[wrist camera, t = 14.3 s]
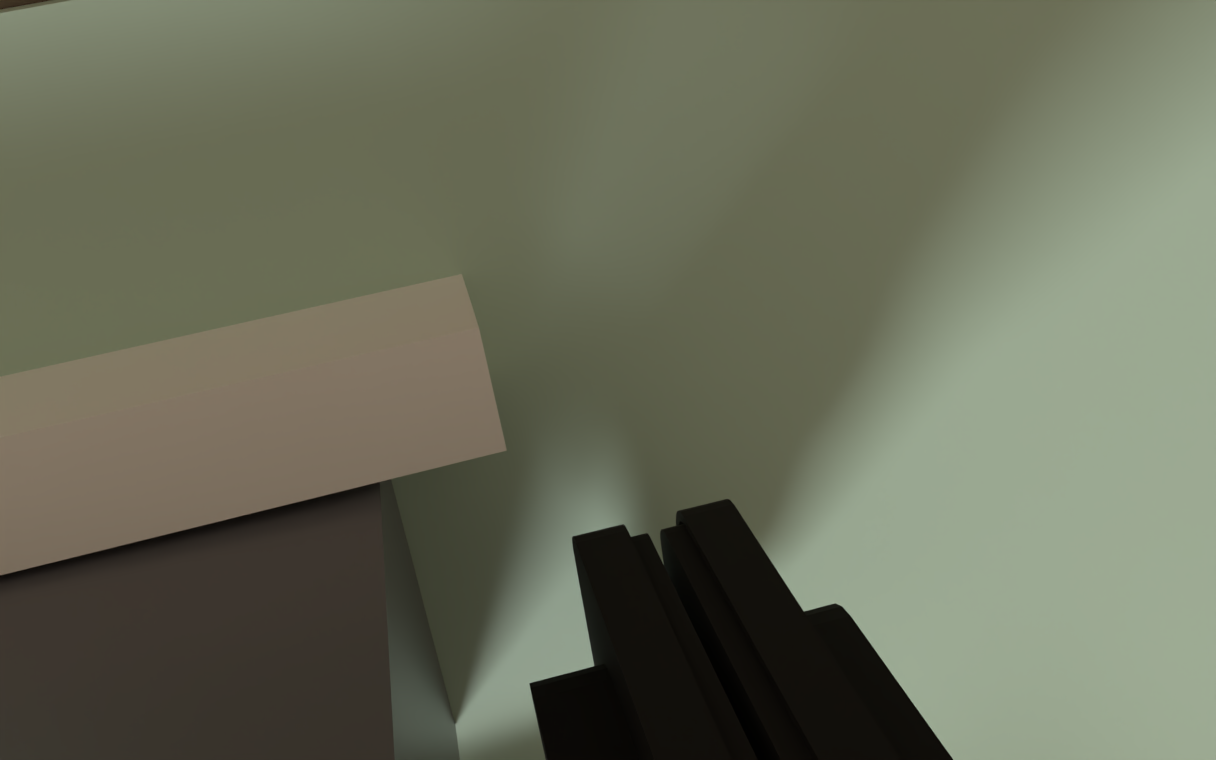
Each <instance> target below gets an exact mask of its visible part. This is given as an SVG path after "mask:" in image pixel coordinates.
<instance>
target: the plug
mask: <svg viewBox="0 0 1216 760" xmlns="http://www.w3.org/2000/svg"><path fill="white" fill-rule="evenodd" d="M0 760H460V756H459V749H458V741H457V733H456V726H455V722H454V718H453V715H452V711H451V707H450V703H449V699H448V695H447V692H446V688H445V684H444V680H443V676H442V672H441V669H440V665H439V661H438V657H437V653H436V650H435V646H434V642H433V638H432V634H431V630H430V627H429V623H428V619H427V615H426V611H425V607H424V604H423V600H422V596H421V592H420V588H419V585H418V581H417V577H416V573H415V569H414V565H413V562H412V558H411V554H410V550H409V546H408V542H407V539H406V535H405V531H404V527H403V523H402V520H401V516H400V512H399V508H398V504H397V500H396V497H395V493H394V489H393V485H392V481H391V479H389V480H385V481H381V482H377V483H373V484H369V485H365V486H361V487H357V488H353V489H349V490H345V491H340V492H336V493H332V494H328V495H324V496H320V497H316V498H312V499H308V500H304V501H300V502H296V503H292V504H288V505H284V506H280V507H276V508H271V509H267V510H263V511H259V512H255V513H251V514H247V515H243V516H239V517H235V518H231V519H227V520H223V521H219V522H215V523H211V524H207V525H203V526H198V527H194V528H190V529H186V530H182V531H178V532H174V533H170V534H166V535H162V536H158V537H154V538H150V539H146V540H142V541H138V542H134V543H130V544H125V545H121V546H117V547H113V548H109V549H105V550H101V551H97V552H93V553H89V554H85V555H81V556H77V557H73V558H69V559H65V560H61V561H56V562H52V563H48V564H44V565H40V566H36V567H32V568H28V569H24V570H20V571H16V572H12V573H8V574H4V575H0Z"/></svg>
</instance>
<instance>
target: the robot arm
mask: <svg viewBox="0 0 1216 760" xmlns="http://www.w3.org/2000/svg"><path fill="white" fill-rule="evenodd" d="M660 540H661V548H662V555H663V563H664V565H663V563H662V560H661V558H660V556H659V554H658V552H657V550H656V548H655V546H654V544H653V542H652V540H651V538H650V536H649V534H647V533H645V534H641V535H637V536H632V537H631V536H630V534H629V532H628V530H627V528H626V526H625V525H624V524H622V525H618V526H613V527H609V528H605V529H601V530H597V531H593V532H589V533H585V534H580V535H576V536H572V545H573V551H574V557H575V563H576V568H577V574H578V579H579V585H580V590H581V596H582V601H583V607H584V612H585V618H586V623H587V629H588V634H589V640H590V645H591V651H592V656H593V662H594V666H593V667H590V668H586V669H582V670H578V671H574V672H570V673H567V674H563V675H559V676H555V677H551V678H547V679H544V680H540V681H536V682H532V683H529V684H530V689H531V694H532V699H533V704H534V708H535V713H536V718H537V722H538V727H539V731H540V736H541V741H542V745H543V750H544V754H545V759H546V760H953V759H952V757H951V756H950V754H949V753H948V752H947V750H946V749H945V747H944V746H943V745H942V743H941V742H940V740H939V739H938V738H937V736H936V735H935V733H934V732H933V731H932V729H931V728H930V726H929V725H928V724H927V722H926V721H925V719H924V718H923V717H922V715H921V714H920V712H919V711H918V710H917V708H916V707H915V705H914V704H913V703H912V701H911V700H910V698H909V697H908V696H907V694H906V693H905V691H904V690H903V689H902V687H901V686H900V684H899V683H898V682H897V680H896V679H895V677H894V676H893V675H892V673H891V672H890V670H889V669H888V667H887V666H886V665H885V663H884V662H883V660H882V659H881V658H880V656H879V655H878V653H877V652H876V651H875V649H874V648H873V646H872V645H871V644H870V642H869V641H868V639H867V638H866V637H865V635H864V634H863V632H862V631H861V630H860V628H859V627H858V625H857V624H856V623H855V621H854V620H853V618H852V617H851V616H850V615H849V613H848V612H847V611H846V610H845V609H844V608H843V607H842V606H840V605H838V604H836V603H834V604H831V605H827V606H823V607H819V608H815V609H811V610H808V611H803V609H802V608H801V606H800V605H799V603H798V602H797V600H796V599H795V597H794V596H793V594H792V593H791V591H790V589H789V588H788V586H787V585H786V583H785V582H784V580H783V579H782V577H781V576H780V574H779V573H778V571H777V570H776V568H775V566H774V565H773V563H772V562H771V560H770V559H769V557H768V556H767V554H766V553H765V551H764V550H763V548H762V547H761V545H760V543H759V542H758V540H757V539H756V537H755V536H754V534H753V533H752V531H751V530H750V528H749V527H748V525H747V523H746V522H745V520H744V519H743V517H742V516H741V514H740V513H739V511H738V510H737V508H736V507H735V505H734V504H733V503H732V501H731V500H729V499H724V500H720V501H716V502H712V503H708V504H704V505H700V506H696V507H691V508H687V509H683V510H679V511H677V513H676V526H673V527H669V528H665V529H661V531H660Z"/></svg>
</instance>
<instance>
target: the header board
mask: <svg viewBox="0 0 1216 760" xmlns="http://www.w3.org/2000/svg"><path fill="white" fill-rule="evenodd" d="M389 479H391V481H392V485H393V489H394V493H395V497H396V500H397V504H398V508H399V512H400V516H401V520H402V523H403V527H404V531H405V535H406V539H407V542H408V546H409V550H410V554H411V558H412V562H413V565H414V569H415V573H416V577H417V581H418V585H419V588H420V592H421V596H422V600H423V604H424V607H425V611H426V615H427V619H428V623H429V627H430V630H431V634H432V638H433V642H434V646H435V650H436V653H437V657H438V661H439V665H440V669H441V672H442V676H443V680H444V684H445V688H446V692H447V695H448V699H449V703H450V707H451V711H452V715H453V718H454V722H455V726H456V733H457V741H458V749H459V756H460V760H546V759H545V754H544V750H543V745H542V741H541V736H540V731H539V727H538V722H537V718H536V713H535V708H534V704H533V699H532V694H531V689H530V684H529V683H532V682H536V681H540V680H544V679H547V678H551V677H555V676H559V675H563V674H567V673H570V672H574V671H578V670H582V669H586V668H590V667H593V666H594V662H593V656H592V651H591V645H590V640H589V634H588V629H587V623H586V618H585V612H584V607H583V601H582V596H581V590H580V585H579V579H578V574H577V568H576V563H575V557H574V551H573V545H572V536H576V535H580V534H585V533H589V532H593V531H597V530H601V529H605V528H609V527H613V526H618V525H622V524H624V525H625V526H626V528H627V530H628V532H629V534H630V536H631V537H632V536H637V535H641V534H645V533H647V534H649V536H650V538H651V540H652V542H653V544H654V546H655V548H656V550H657V552H658V554H659V556H660V558H661V560H662V563H663V555H662V548H661V540H660V531H661V529H665V528H669V527H673V526H676V513H677V511H679V510H683V509H687V508H691V507H696V506H700V505H704V504H708V503H712V502H716V501H720V500H724V499H729V500H731V501H732V503H733V504H734V505H735V507H736V508H737V510H738V511H739V513H740V514H741V516H742V517H743V519H744V520H745V522H746V523H747V525H748V527H749V528H750V530H751V531H752V533H753V534H754V536H755V537H756V539H757V540H758V542H759V543H760V545H761V547H762V548H763V550H764V551H765V553H766V554H767V556H768V557H769V559H770V560H771V562H772V563H773V565H774V566H775V568H776V570H777V571H778V573H779V574H780V576H781V577H782V579H783V580H784V582H785V583H786V585H787V586H788V588H789V589H790V591H791V593H792V594H793V596H794V597H795V599H796V600H797V602H798V603H799V605H800V606H801V608H802V609H803V611H808V610H811V609H815V608H819V607H823V606H827V605H831V604H834V603H836V604H838V605H840V606H842V607H843V608H844V609H845V610H846V611H847V612H848V613H849V615H850V616H851V617H852V618H853V620H854V621H855V623H856V624H857V625H858V627H859V628H860V630H861V631H862V632H863V634H864V635H865V637H866V638H867V639H868V641H869V642H870V644H871V645H872V646H873V648H874V649H875V651H876V652H877V653H878V655H879V656H880V658H881V659H882V660H883V662H884V663H885V665H886V666H887V667H888V669H889V670H890V672H891V673H892V675H893V676H894V677H895V679H896V680H897V682H898V683H899V684H900V686H901V687H902V689H903V690H904V691H905V693H906V694H907V696H908V697H909V698H910V700H911V701H912V703H913V704H914V705H915V707H916V708H917V710H918V711H919V712H920V714H921V715H922V717H923V718H924V719H925V721H926V722H927V724H928V725H929V726H930V728H931V729H932V731H933V732H934V733H935V735H936V736H937V738H938V739H939V740H940V742H941V743H942V745H943V746H944V747H945V749H946V750H947V752H948V753H949V754H950V756H951V757H952V759H953V760H1216V0H51V1H45V2H39V3H34V4H28V5H23V6H17V7H11V8H6V9H0V575H4V574H8V573H12V572H16V571H20V570H24V569H28V568H32V567H36V566H40V565H44V564H48V563H52V562H56V561H61V560H65V559H69V558H73V557H77V556H81V555H85V554H89V553H93V552H97V551H101V550H105V549H109V548H113V547H117V546H121V545H125V544H130V543H134V542H138V541H142V540H146V539H150V538H154V537H158V536H162V535H166V534H170V533H174V532H178V531H182V530H186V529H190V528H194V527H198V526H203V525H207V524H211V523H215V522H219V521H223V520H227V519H231V518H235V517H239V516H243V515H247V514H251V513H255V512H259V511H263V510H267V509H271V508H276V507H280V506H284V505H288V504H292V503H296V502H300V501H304V500H308V499H312V498H316V497H320V496H324V495H328V494H332V493H336V492H340V491H345V490H349V489H353V488H357V487H361V486H365V485H369V484H373V483H377V482H381V481H385V480H389ZM663 565H664V563H663Z"/></svg>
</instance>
